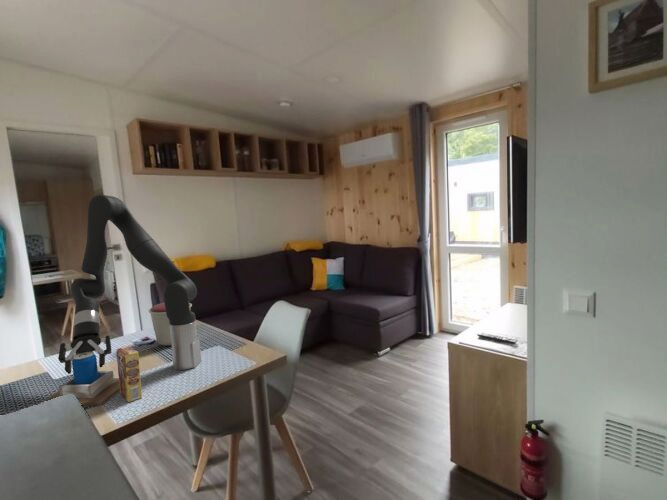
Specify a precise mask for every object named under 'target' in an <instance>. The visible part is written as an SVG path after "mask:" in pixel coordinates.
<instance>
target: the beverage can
mask: <svg viewBox="0 0 667 500" xmlns="http://www.w3.org/2000/svg"><path fill="white" fill-rule="evenodd" d="M94 352H95V351H93V352H84V353H80V354H77V355H75V356H74V357H73V360H72V362H71V363H72V367H71V368H72V373H73V378H74V382H75V385H87V384H92V383H93V382H95V381H96V380H98V379H99V376H98V371H99V369H98V368H99V367H98V362H97V361H98V360H97V355H96V354H95V353H94Z"/></svg>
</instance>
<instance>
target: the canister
mask: <svg viewBox="0 0 667 500" xmlns="http://www.w3.org/2000/svg"><path fill="white" fill-rule="evenodd" d="M192 306H193V304H192V303H190V302H189V308H190V309H191V308H192ZM148 313H149V314H150V317H151V322H152V327H153V330H154V334H155V339H156V341H157V343H158V345H161V346H166V347H167V346H171V335H170V323H169V319H168V318H167V315H166V309H165V302H161V303H158V304H155V305H153V306H152V307H151V308H150V307H149V309H148Z"/></svg>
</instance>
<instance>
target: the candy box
mask: <svg viewBox="0 0 667 500" xmlns="http://www.w3.org/2000/svg"><path fill="white" fill-rule="evenodd" d="M139 355H140V354H139V351H138V350H136V349H135V348H133V347H132V346H130V345H126V346H122V347H120V348H117V349H116V360H117V361H116V362H117V370H118V372H117V373H118V378H119V385H120V391H119V393H120V395H121V396H122V397H123V398H124V399H125V400H126V402H128V403H131V402H133V401H136V400H139V399H142V397H143V396H142V395H143V394H142V393H143V392H142V383H141V370H140V369H141V368H140V356H139Z"/></svg>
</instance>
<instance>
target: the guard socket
mask: <svg viewBox="0 0 667 500" xmlns="http://www.w3.org/2000/svg"><path fill="white" fill-rule="evenodd" d="M98 376H99V379H98V380H96V381H95V382H93V383H92V384H87V385H75V382H74V377H72V378H71V379H69V380H68V381H66V382H64V383H63V384H61V385H60V386H58V391H57V392H55V393H53V394H51V395H50V396H49V397H47V398H45V399H44V400H42V401H41V402H44V401H48V400H51V399H53V398H56V397H59V396H63V395H67V394H73V395H75V396H76V398H77V399H78V400H79V402H80V403H81V404H82V405H83V406H82V407H89V406H90V407H94V406H95V407H96V406H99V407H100V406H103V405H104V404H106V403H107V402H109V400H110V399H111V398H113V397H114V396H115V395H117V394H118V393H120V385H119V377H114V376H115V375H114V370H98ZM41 402H39V403H41Z"/></svg>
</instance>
